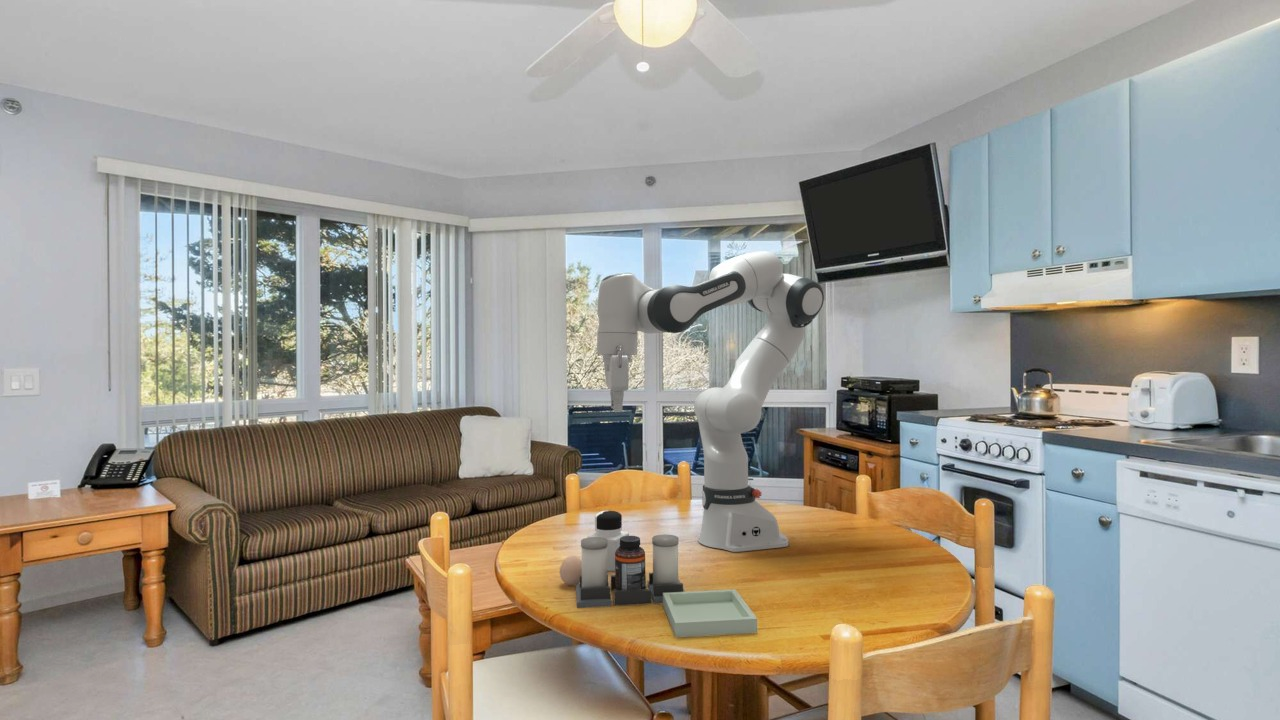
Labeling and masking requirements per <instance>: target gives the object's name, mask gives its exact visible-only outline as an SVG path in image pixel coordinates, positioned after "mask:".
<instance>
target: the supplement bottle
mask: <svg viewBox="0 0 1280 720" xmlns="http://www.w3.org/2000/svg"><path fill="white" fill-rule="evenodd" d="M614 575H615V589H614V590H633V589H646V588H645V575H646V552H645V549H644V548H643V547H641V538H640V537H639V536H637V535H629V536H623V537H621V538H620V546H619V548H618V549H617V550H616V552H615V572H614Z"/></svg>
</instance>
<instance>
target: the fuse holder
mask: <svg viewBox="0 0 1280 720" xmlns="http://www.w3.org/2000/svg"><path fill="white" fill-rule="evenodd" d="M651 540H652V541H651V544H652V572H649V573H648V580H647V579H646V574H645V589H633V590H615V574H614V575H610V583H609V575H608V571H607V546H608V540H607V539H606V538H602V537H589V538H587V537H586V538H583V539H581V540H580V547H581V562H582V576H580V582H579V583H578V584H576V585H575V587H576V588H575V591H576V592H575V594H576V608H577V609H582V608H601V607H603V608H604V607H612V606H613V605H614V606H631V605H635V606H636V605H651V604H652V603H653V604H654V605H663V593H669V592H686V591H685V589H684V584H683V583H682V582H681V581H680V579H679V537H678V536H677V535H674V534H668V533H667V534H666V533H665V534H657V535H654V536H652V537H651ZM646 582H647V584H646ZM646 585H647V586H646ZM611 590H613V599H612V595H611Z"/></svg>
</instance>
